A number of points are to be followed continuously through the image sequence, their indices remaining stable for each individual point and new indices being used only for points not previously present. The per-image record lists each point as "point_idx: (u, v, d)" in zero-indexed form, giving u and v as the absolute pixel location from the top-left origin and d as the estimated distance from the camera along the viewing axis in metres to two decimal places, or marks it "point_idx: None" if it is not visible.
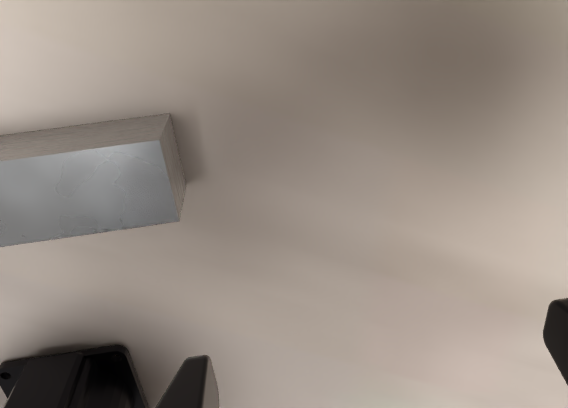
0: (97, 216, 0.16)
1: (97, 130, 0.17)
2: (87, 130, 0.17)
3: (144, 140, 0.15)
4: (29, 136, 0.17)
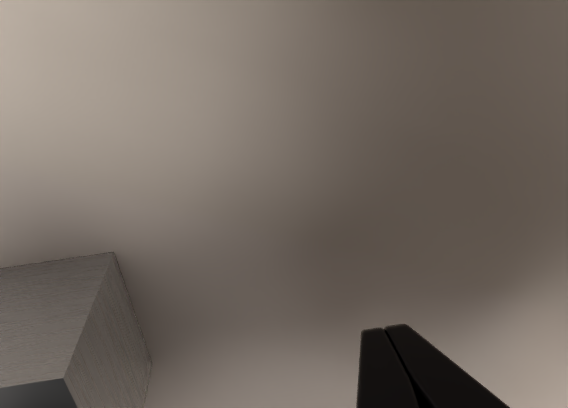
0: None
1: None
2: None
3: (30, 376, 0.06)
4: None
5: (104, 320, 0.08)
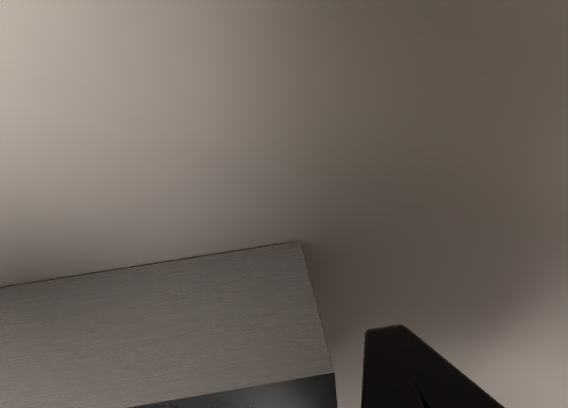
0: None
1: (157, 298, 0.08)
2: (134, 294, 0.08)
3: (293, 370, 0.06)
4: (7, 308, 0.08)
5: None
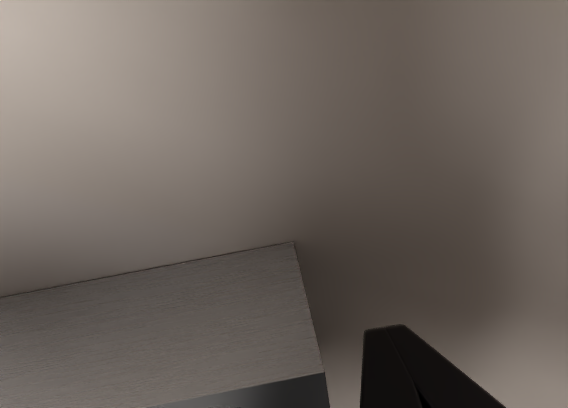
0: None
1: (152, 303, 0.08)
2: (130, 300, 0.08)
3: (284, 371, 0.06)
4: (6, 318, 0.08)
5: None
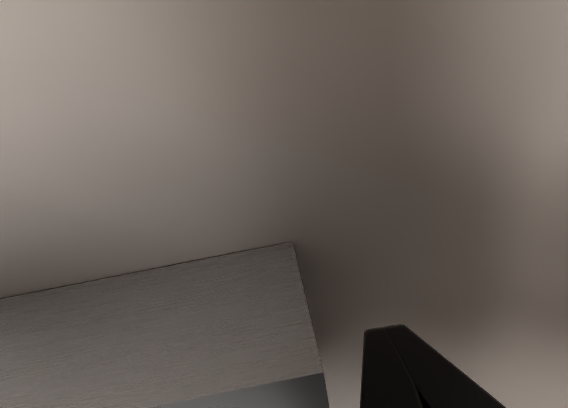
0: None
1: (151, 304, 0.08)
2: (128, 301, 0.08)
3: (284, 371, 0.06)
4: (5, 319, 0.08)
5: None
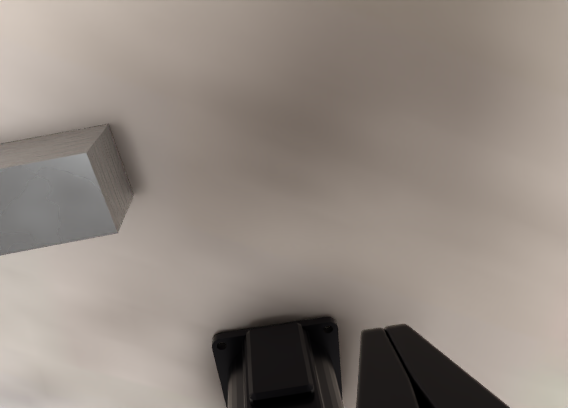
0: (33, 232, 0.16)
1: (33, 145, 0.17)
2: (24, 145, 0.17)
3: (72, 154, 0.15)
4: None
5: (104, 149, 0.17)
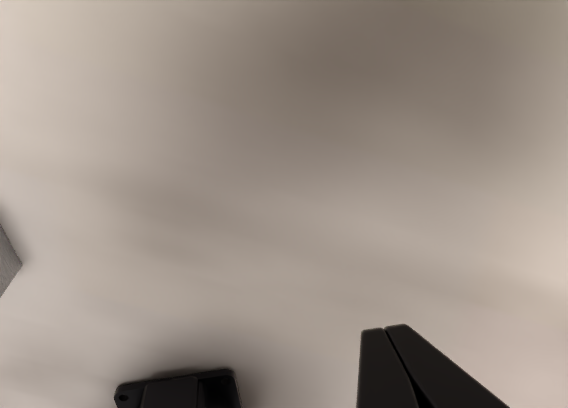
0: None
1: None
2: None
3: None
4: None
5: None
